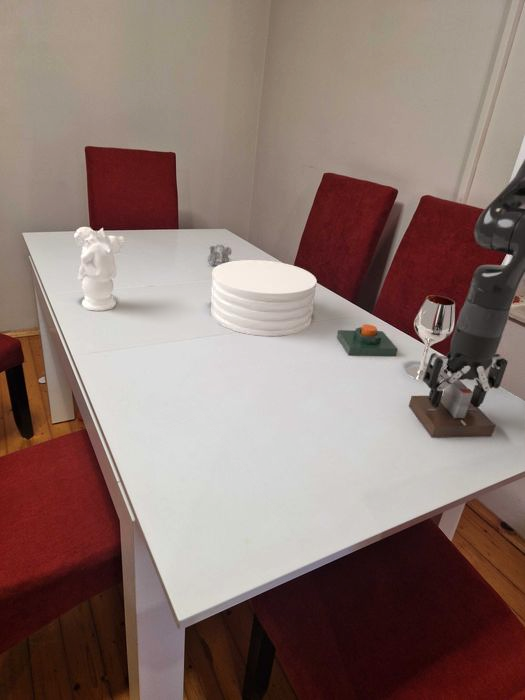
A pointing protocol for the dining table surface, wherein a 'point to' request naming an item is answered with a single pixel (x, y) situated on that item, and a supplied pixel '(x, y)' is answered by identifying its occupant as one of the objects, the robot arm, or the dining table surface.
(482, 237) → the robot arm
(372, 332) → the button
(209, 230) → the dining table surface
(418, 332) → the wineglass
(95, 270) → the cherub figurine
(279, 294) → the plate stack
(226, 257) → the elephant statuette
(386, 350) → the button box
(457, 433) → the panel
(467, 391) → the tap knob
